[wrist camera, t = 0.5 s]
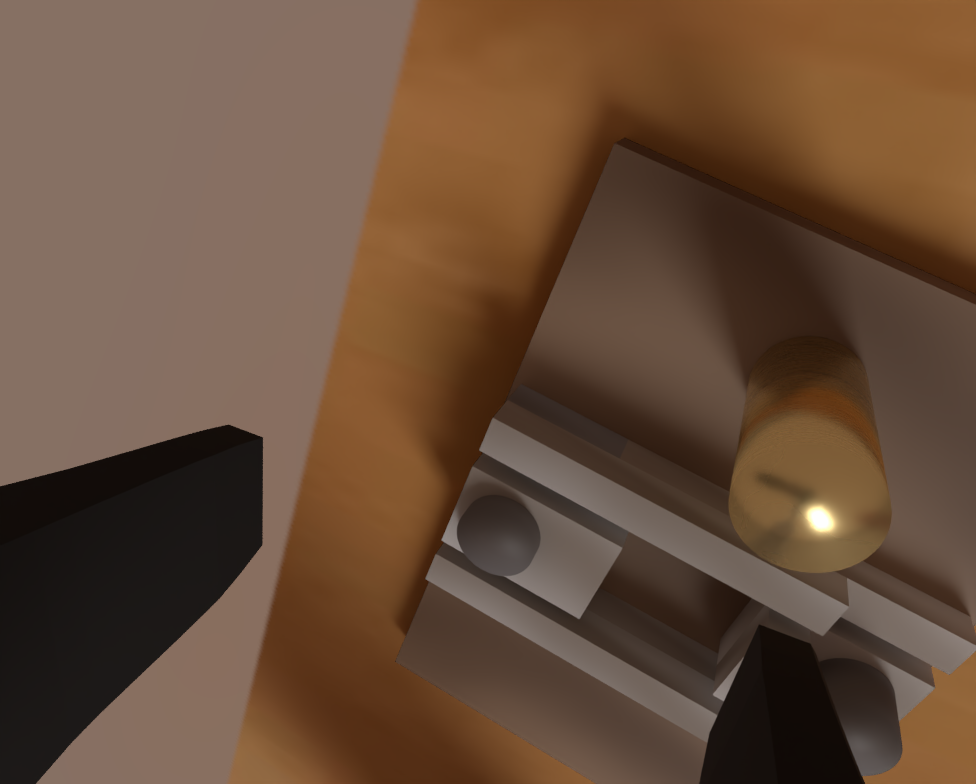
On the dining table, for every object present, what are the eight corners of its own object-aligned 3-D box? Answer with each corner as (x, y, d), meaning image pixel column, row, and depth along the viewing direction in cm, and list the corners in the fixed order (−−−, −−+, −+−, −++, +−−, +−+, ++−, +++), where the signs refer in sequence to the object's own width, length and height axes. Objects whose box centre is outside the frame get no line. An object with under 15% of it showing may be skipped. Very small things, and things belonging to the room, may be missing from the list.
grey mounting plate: (728, 833, 24) (717, 946, 21) (408, 641, 26) (356, 718, 23) (1181, 385, 14) (1278, 474, 11) (624, 138, 16) (584, 158, 13)
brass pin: (877, 429, 16) (902, 569, 12) (760, 443, 17) (745, 575, 13) (858, 325, 15) (878, 433, 11) (738, 347, 16) (713, 453, 12)
